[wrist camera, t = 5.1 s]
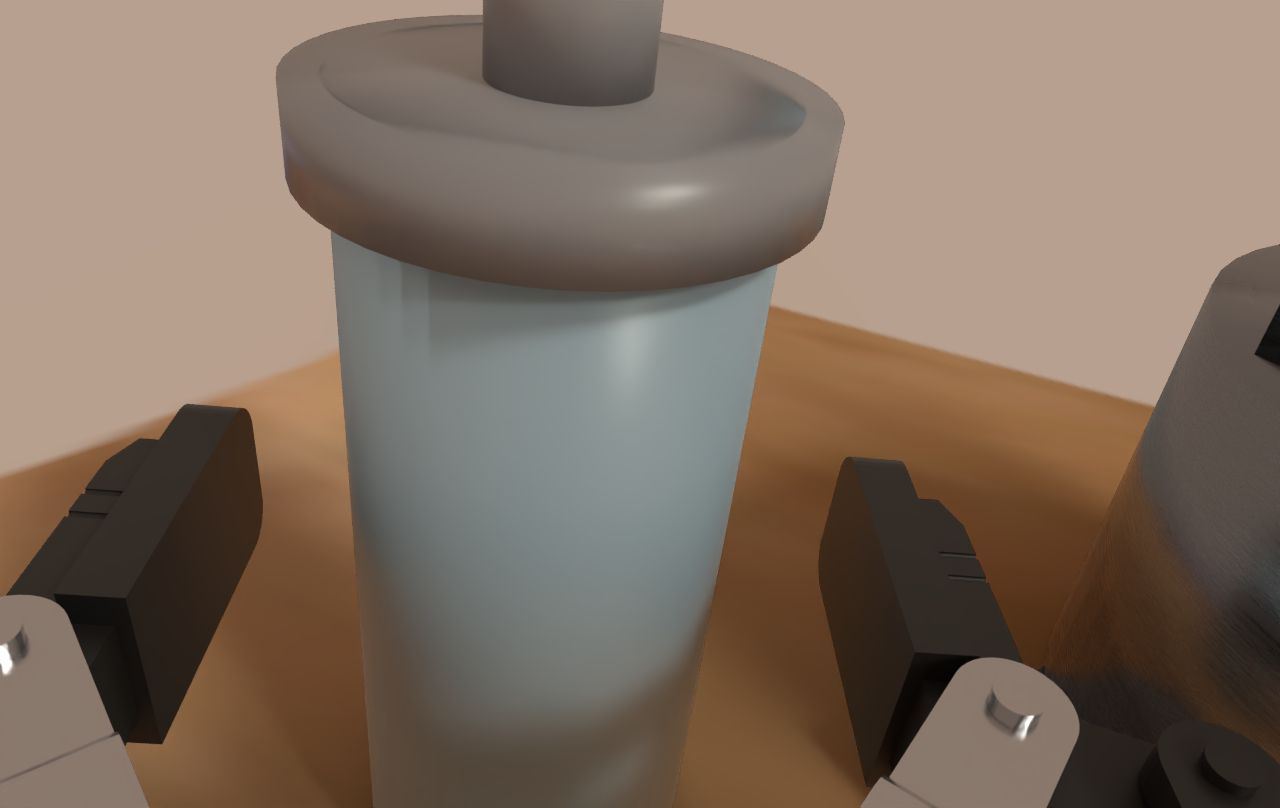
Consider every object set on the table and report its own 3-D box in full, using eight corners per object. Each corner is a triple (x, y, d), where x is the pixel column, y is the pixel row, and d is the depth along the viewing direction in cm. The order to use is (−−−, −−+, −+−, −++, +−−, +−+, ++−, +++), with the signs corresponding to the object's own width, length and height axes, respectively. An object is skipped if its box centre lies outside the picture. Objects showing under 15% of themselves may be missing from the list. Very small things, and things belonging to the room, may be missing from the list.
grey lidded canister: (581, 623, 20) (652, -120, 13) (763, 847, 16) (1012, -29, 9) (298, 740, 17) (183, -142, 10) (441, 1049, 13) (422, -22, 6)
